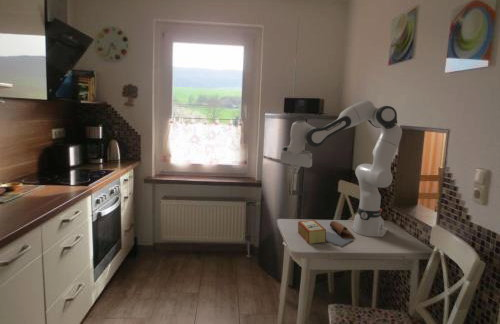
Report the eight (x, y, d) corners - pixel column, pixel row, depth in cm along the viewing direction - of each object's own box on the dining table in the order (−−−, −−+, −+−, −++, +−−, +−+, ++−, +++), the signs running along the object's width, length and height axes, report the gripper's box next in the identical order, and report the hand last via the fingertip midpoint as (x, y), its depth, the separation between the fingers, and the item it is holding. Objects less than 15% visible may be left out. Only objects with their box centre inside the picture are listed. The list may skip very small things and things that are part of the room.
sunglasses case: (355, 237, 180) (350, 226, 179) (344, 243, 180) (339, 232, 179) (343, 226, 198) (338, 217, 197) (332, 232, 198) (328, 222, 197)
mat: (327, 232, 188) (327, 231, 188) (353, 240, 178) (353, 239, 178) (314, 237, 178) (314, 236, 178) (341, 247, 168) (341, 245, 168)
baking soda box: (298, 232, 185) (308, 244, 169) (298, 221, 184) (308, 232, 168) (314, 231, 187) (326, 242, 171) (314, 219, 186) (326, 230, 170)
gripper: (315, 151, 187) (313, 175, 189) (286, 147, 201) (284, 169, 203) (309, 151, 183) (307, 176, 185) (279, 147, 196) (278, 170, 199)
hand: (295, 172), depth 194 cm, fingers closed
